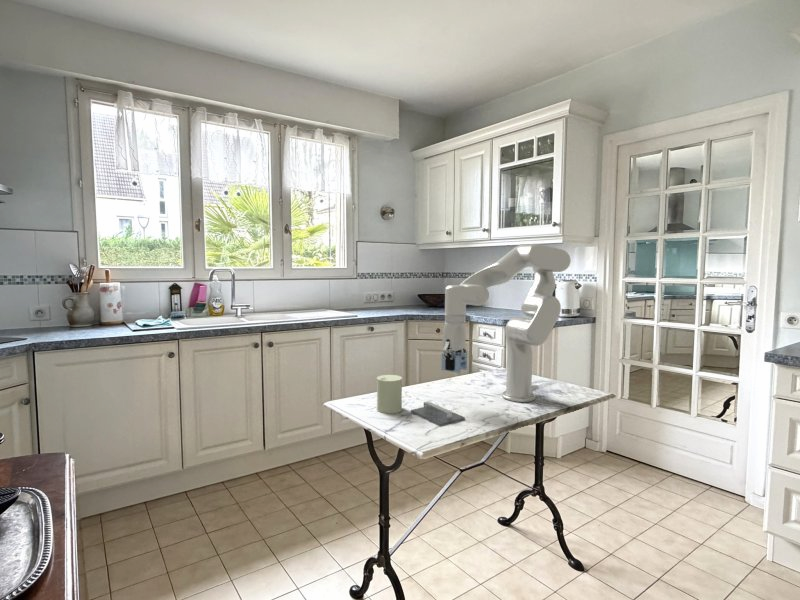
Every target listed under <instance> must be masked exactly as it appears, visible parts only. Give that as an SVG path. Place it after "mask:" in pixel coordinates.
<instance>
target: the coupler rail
mask: <svg viewBox="0 0 800 600" xmlns="http://www.w3.org/2000/svg"><path fill="white" fill-rule="evenodd" d="M410 413H411V414H414V415H416V416H418V417H420V418H422V419H424V420H426V421H428V422H429V423H432V424H435V425H436V426H438V427H441V426H445V425H449V424H452V423H456V422H461V421H465V420H466V419H465V418H466V417H465V416H463V415H460V414H458V413H456V412H453V411H452V410H449V409H447V408H445V407H442V406H440V405H437V404H435V403H433V402H431V401H425V402H423V407H419V408H415V409H414V408H413V409H411V410H410Z"/></svg>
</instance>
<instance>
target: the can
mask: <svg viewBox="0 0 800 600" xmlns="http://www.w3.org/2000/svg"><path fill="white" fill-rule="evenodd" d="M402 390H403V377H402V376H400V375H398V374H381V375H378V376H377V377H376V411H377V412H380V413H383V414H395V413H399V412H401V411H402V410H403V404H402V402H403V400H402V399H403V393H402V392H403V391H402Z"/></svg>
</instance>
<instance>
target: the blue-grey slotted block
mask: <svg viewBox="0 0 800 600" xmlns="http://www.w3.org/2000/svg"><path fill="white" fill-rule="evenodd" d="M450 355H451V353H450ZM453 360H454V370H453V371H450V370H446V369H445V356H444V353H441V371H445V372H450V373H459V374H460V373H461V370H464V371H466V370H468V352H467V353H466V352H464V353H462V352H454V356H453Z"/></svg>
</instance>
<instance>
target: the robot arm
mask: <svg viewBox="0 0 800 600" xmlns="http://www.w3.org/2000/svg"><path fill="white" fill-rule="evenodd" d="M570 265H571V257H570V254H569V252H567V250H565V249H562V248H557V247H553V246H548V245H544V244H538V243H530V244H529V243H528V244H527V243H523V244H519V245H516V246H515V247H514V248H512V249H511V250H510V251H508V252H507V253H506V254H505V255H503V256H502V257H501V258H500V259H498V260H497V261H496V262H494V263H493V264H491V265H488V266H487V267H485V268H483V269H480V270H479V271H477V272H475V273H473V274H472V275H470V276H469V277H467V278H466V279H465V280H463V281H462V282H460V284H450V285H449V284H448V285H447V286H446V287H445V288H444V289H445V290H444V291H445V292H444V325H443V331H442V339H441V340H442V344H441V349H442V352H443V353H444V356H445V369H446V370H450V371H453V370H454V360H453V356H454V352H462V353H465V348H466V346H467V343H466V337H467V336H466V334H467V333H466V322H467V320H466V319H467V305H470V306H471V305H472V306H481V305H484V304H486V303H487V302H488V300H489V298H490V293H489V292H490V291H489V290H488V288H491V287H495V286H500V285H503V284H506V283H508V282H510V281H511V280H512V279H514V277H516V276H517V275H518V274H519V273H520V272H522V271H524V270H525V268H530V267H531V268H532V270H533V275H534V279H533V282H532V284H531V286H530V288H529V290H528V292H527V294H526V296H524V299H523V301H522V303H521V307H520V310H521V311H520V312H521V313H522V314H523V316H526V317H528V318H526V317H520V316H516V317H512V318H510V319H509V320H508V321H507V323H506V325H505V330H504V331H505V339H506V346H507V347H506V348H507V349H506V351H507V354H506V356H507V357H506V387H505V389H506V390H504V391H503V392H502V393H501V395H502V398H503V399H505V400H508V401H512V402H517V403H527V402H528V403H529V402H533V401H534V400H536V395H535V394H534V393H533V392H534V391H538V390H539V385H537V384H535V385H532V382H533V381H532V380H533V349H532V346H534V347H539V346H542V345H543V344H544V343H545V342H546V341H547V340H548V337H549V336H550V334H551V332H552V331H553V329H554V327H555V325H556V322H557V321H558V319H559V318H560V316H561V315H560V314H561V310H562V309H561V308H562V307H561V303H560V301H559V299H558V298H557V297H556V296H553V293H554V292H555V288H556V280H555V279H556V278H555V276H554V273H562V272H564V271H566V270H567V269H568V268H569V267H570ZM531 318H532V319H531ZM443 353H442V354H443ZM450 353H451V355H450ZM450 371H449V372H450Z"/></svg>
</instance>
